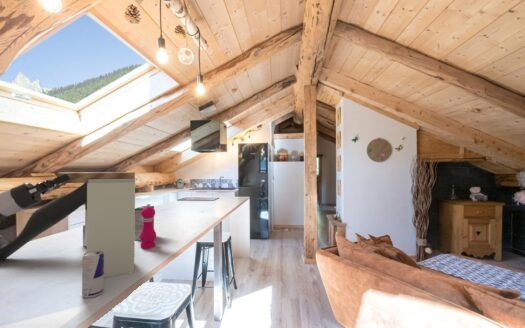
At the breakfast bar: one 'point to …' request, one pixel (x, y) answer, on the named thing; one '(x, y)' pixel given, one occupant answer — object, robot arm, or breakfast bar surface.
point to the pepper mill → (148, 228)
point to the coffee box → (139, 222)
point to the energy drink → (92, 274)
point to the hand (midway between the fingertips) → (72, 175)
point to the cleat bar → (96, 176)
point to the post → (112, 223)
